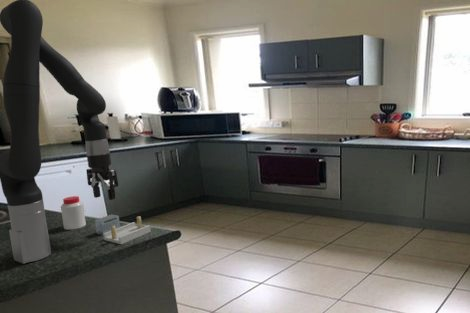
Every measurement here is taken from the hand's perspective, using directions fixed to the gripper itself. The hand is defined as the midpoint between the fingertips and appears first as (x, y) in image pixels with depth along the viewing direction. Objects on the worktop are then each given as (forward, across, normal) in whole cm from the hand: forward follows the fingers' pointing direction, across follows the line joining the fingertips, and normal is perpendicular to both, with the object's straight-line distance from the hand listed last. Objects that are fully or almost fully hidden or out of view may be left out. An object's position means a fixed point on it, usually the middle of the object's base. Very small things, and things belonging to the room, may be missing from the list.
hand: (104, 198), depth 129 cm
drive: (+12, 0, 0) cm, 12 cm away
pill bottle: (+12, -18, -2) cm, 22 cm away
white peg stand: (+12, +11, -1) cm, 16 cm away
